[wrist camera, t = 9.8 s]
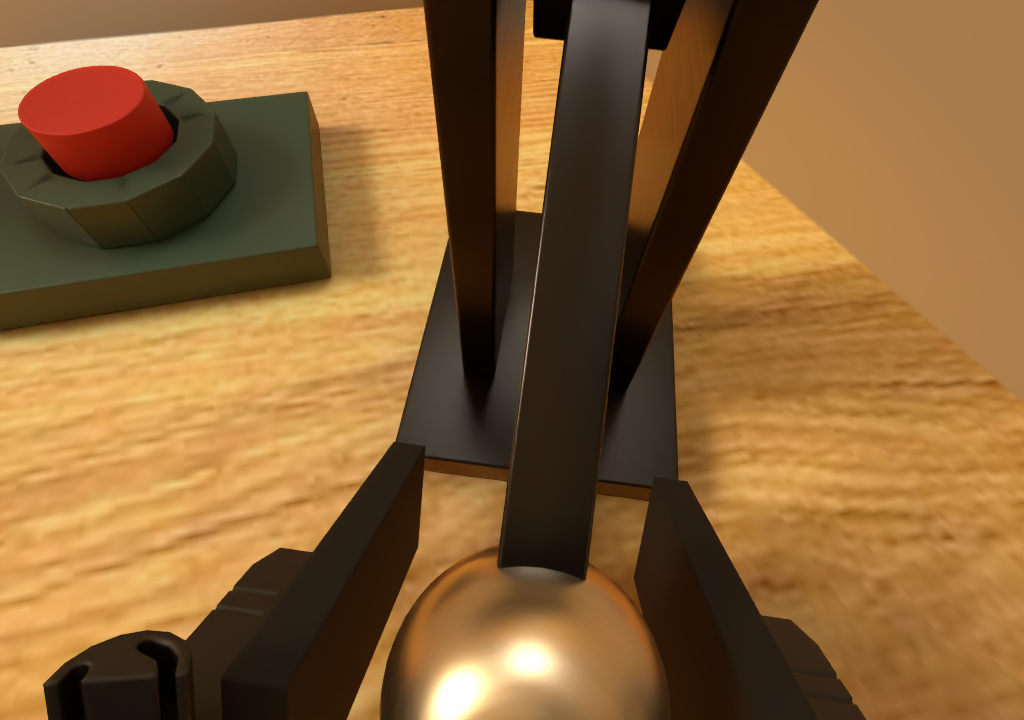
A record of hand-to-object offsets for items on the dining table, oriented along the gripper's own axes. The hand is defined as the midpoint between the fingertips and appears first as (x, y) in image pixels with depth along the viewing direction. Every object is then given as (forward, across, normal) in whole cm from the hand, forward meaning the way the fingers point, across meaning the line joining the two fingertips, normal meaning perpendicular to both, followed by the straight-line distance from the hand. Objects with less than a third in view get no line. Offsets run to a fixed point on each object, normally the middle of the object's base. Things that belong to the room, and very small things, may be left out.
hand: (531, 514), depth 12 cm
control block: (+9, -15, +5) cm, 19 cm away
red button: (+7, -15, +8) cm, 19 cm away
